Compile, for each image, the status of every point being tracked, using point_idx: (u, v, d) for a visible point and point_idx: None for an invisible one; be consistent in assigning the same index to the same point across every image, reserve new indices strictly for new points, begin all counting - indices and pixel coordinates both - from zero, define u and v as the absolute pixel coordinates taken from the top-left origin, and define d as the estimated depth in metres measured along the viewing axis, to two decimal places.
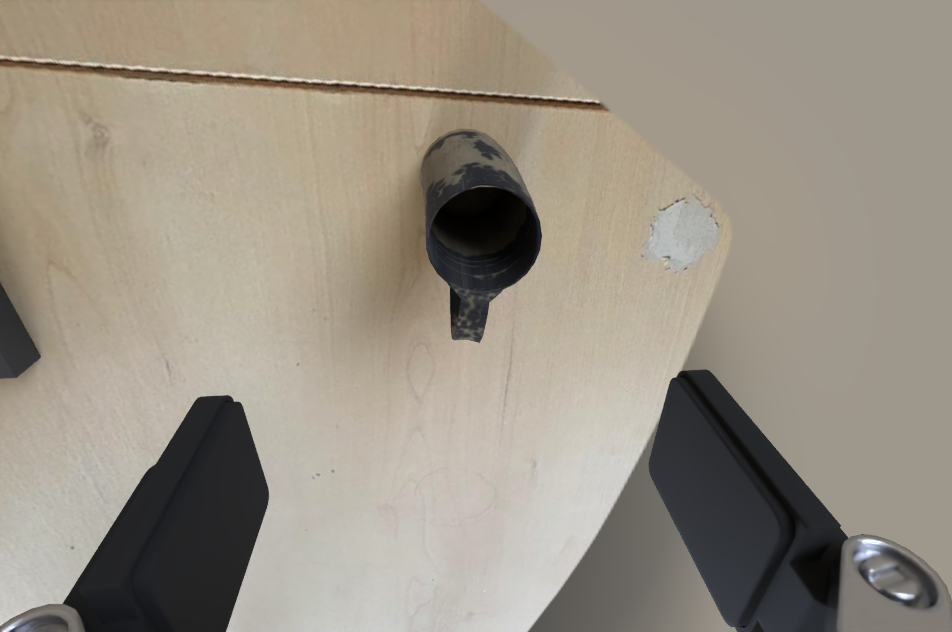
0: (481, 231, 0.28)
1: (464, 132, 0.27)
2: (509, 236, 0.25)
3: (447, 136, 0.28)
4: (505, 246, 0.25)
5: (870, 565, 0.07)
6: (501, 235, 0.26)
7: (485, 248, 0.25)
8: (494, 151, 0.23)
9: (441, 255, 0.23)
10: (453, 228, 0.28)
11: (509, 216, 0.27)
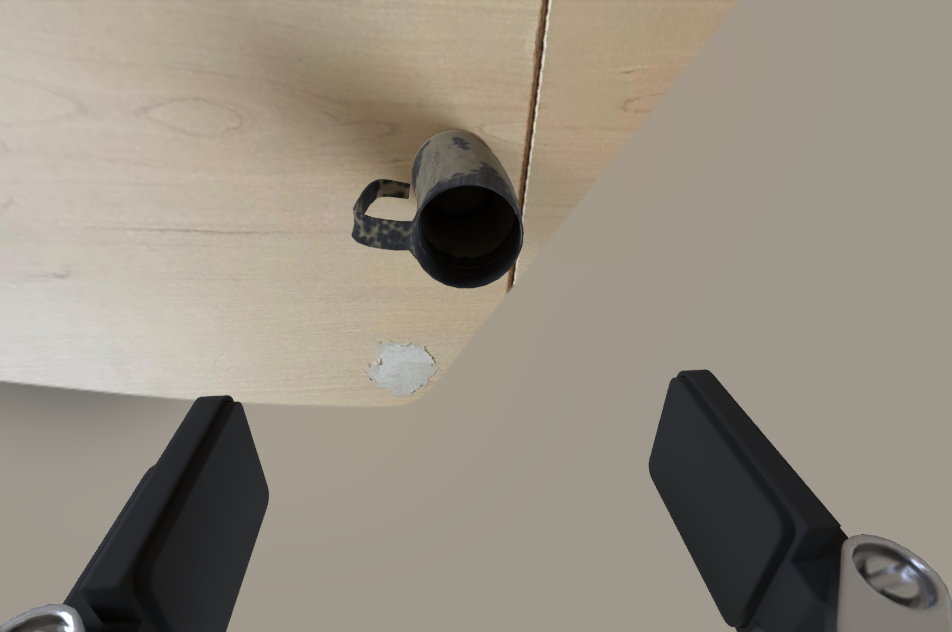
0: None
1: None
2: (435, 242, 0.26)
3: None
4: (430, 241, 0.25)
5: (870, 565, 0.07)
6: (430, 231, 0.26)
7: (421, 219, 0.25)
8: None
9: None
10: None
11: (440, 232, 0.28)
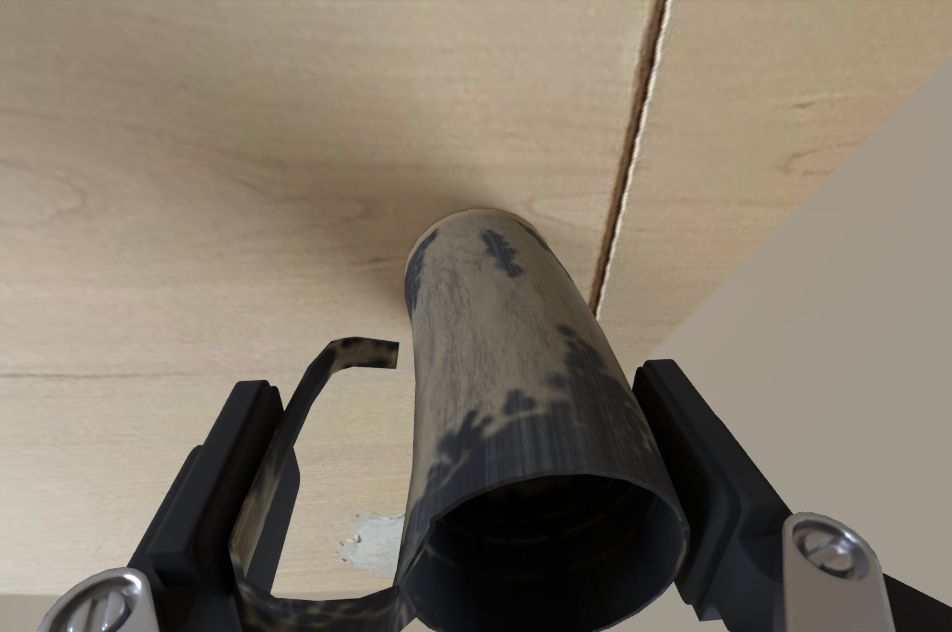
0: None
1: None
2: None
3: None
4: None
5: (808, 542, 0.07)
6: None
7: None
8: None
9: None
10: None
11: None
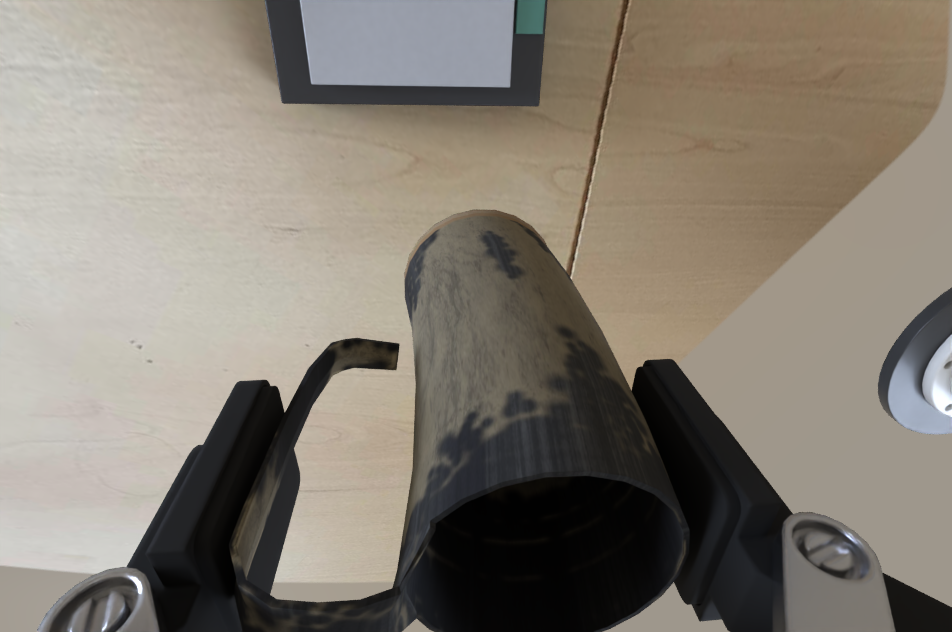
0: None
1: None
2: None
3: None
4: None
5: (808, 542, 0.07)
6: None
7: None
8: None
9: None
10: None
11: None
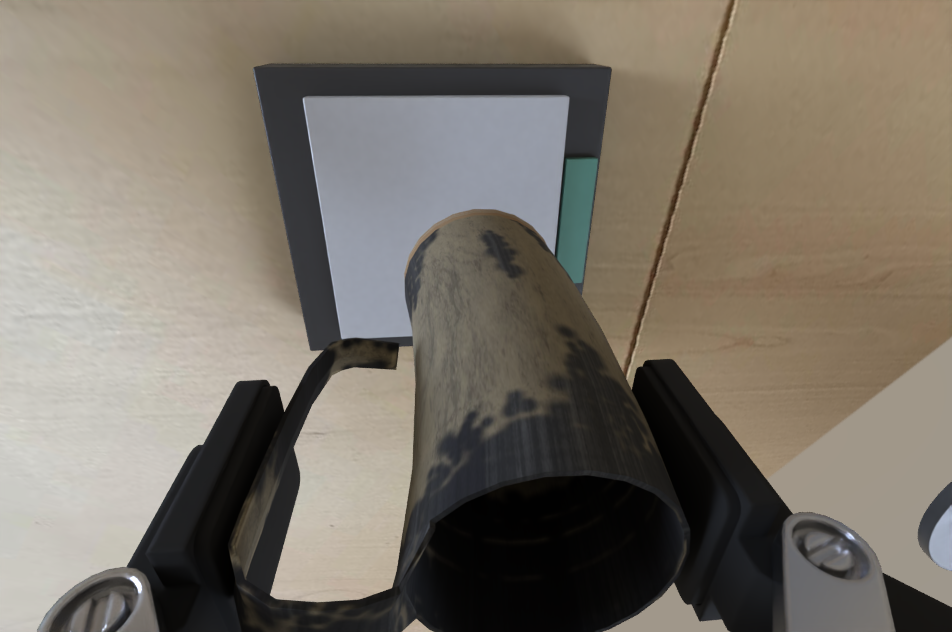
0: None
1: None
2: None
3: None
4: None
5: (808, 541, 0.07)
6: None
7: None
8: None
9: None
10: None
11: None
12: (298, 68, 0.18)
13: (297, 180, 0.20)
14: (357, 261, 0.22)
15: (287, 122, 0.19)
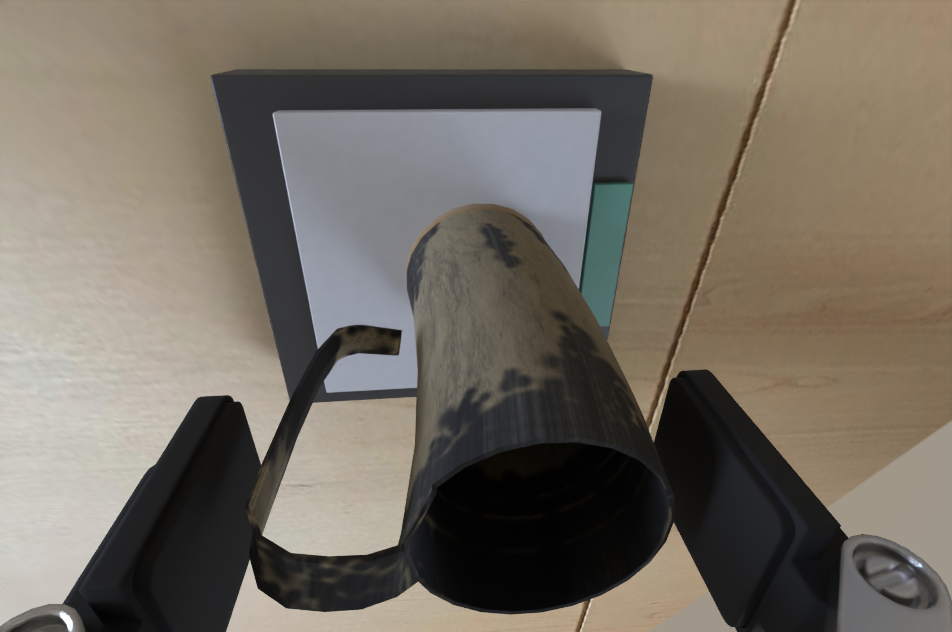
0: None
1: None
2: None
3: None
4: None
5: (870, 565, 0.07)
6: None
7: None
8: None
9: None
10: None
11: None
12: (267, 76, 0.15)
13: (269, 211, 0.17)
14: (343, 305, 0.18)
15: (254, 143, 0.16)
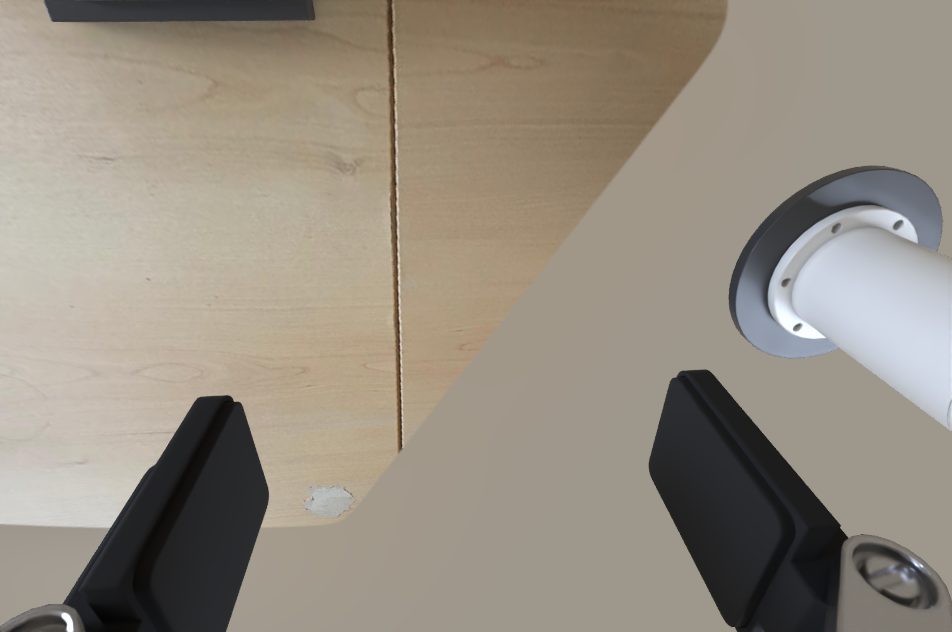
0: None
1: None
2: None
3: None
4: None
5: (870, 565, 0.07)
6: None
7: None
8: None
9: None
10: None
11: None
12: None
13: None
14: None
15: None
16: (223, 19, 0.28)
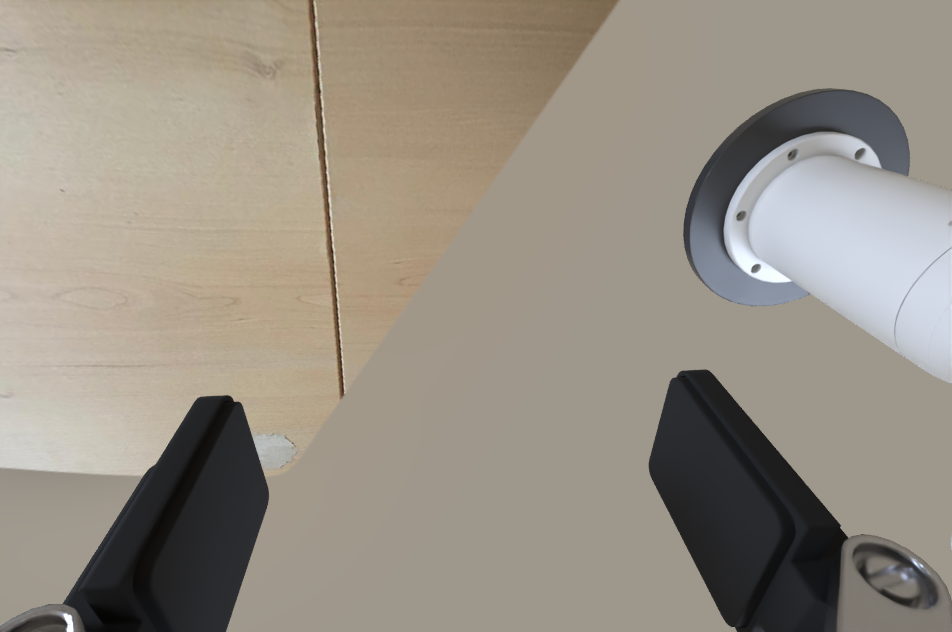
0: None
1: None
2: None
3: None
4: None
5: (870, 565, 0.07)
6: None
7: None
8: None
9: None
10: None
11: None
12: None
13: None
14: None
15: None
16: None
